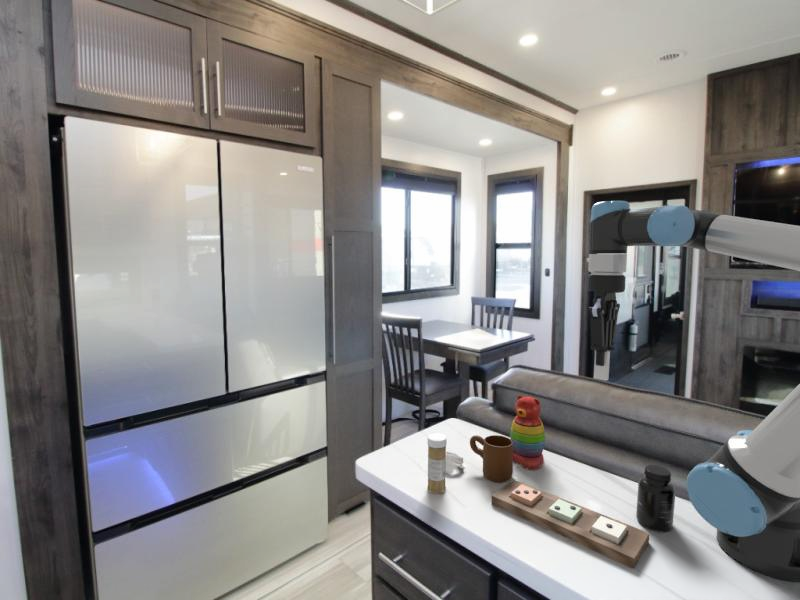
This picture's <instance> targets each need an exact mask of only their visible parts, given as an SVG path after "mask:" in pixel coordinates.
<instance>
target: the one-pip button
mask: <svg viewBox="0 0 800 600" xmlns="http://www.w3.org/2000/svg"><path fill="white" fill-rule="evenodd" d="M626 531H627V526H625V525H623V524H620V523H618V522H615V521H613V520H610V519H608V518H605V517H603V516H600V517H599V519H598V520H597V521H596V522H595V523H594V525H593V526H592V533H593V534H595V535H598V536H600V537H602V538H605V539H607V540H609V541H612V542H614V543H616V544H619V545H620V544H621V543H622V541H623V540H624V538H625V537H626Z"/></svg>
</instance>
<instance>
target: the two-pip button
mask: <svg viewBox="0 0 800 600" xmlns="http://www.w3.org/2000/svg"><path fill="white" fill-rule="evenodd" d="M549 515H551V516H554V517H556V518H558V519H560V520H563V521H565V522H567V523H570V524H572V525H573V524H574V523H575V522H576V521H577V520H578V519H579V518H580V516H581V508H580V507H578V506H575V505H573V504H570V503H568V502H565V501H563V500H560V499H558V500H557V501H556V502H555V503H554V504H553V505H552V506H551V507H550V508H549Z"/></svg>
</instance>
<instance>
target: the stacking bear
mask: <svg viewBox="0 0 800 600" xmlns="http://www.w3.org/2000/svg"><path fill="white" fill-rule="evenodd" d="M514 411H515V414H516V416H515V417H514V419H513V420H512V424H511V428H510V434H509V437H510V438H509V439H511V440H512V442H513V463H514V462H515V463H518V464H519V465H521V466H522V467H523V468H525V469H527V470H530V471H531V470H532V471H533V470H537V469H539V468H541V467H542V466H543V464H544V461H545V459H544V455H543V451H544V447H545V444H546V432H545V427H544V424H543V422H542V419H541V418H540V417H539V415H540V414H541V402H540V400H539V399H538V398H535V397H532V396H523V395H522V394H520V395H518V396H517V401H516V402H515V405H514Z"/></svg>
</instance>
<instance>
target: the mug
mask: <svg viewBox="0 0 800 600" xmlns="http://www.w3.org/2000/svg"><path fill="white" fill-rule="evenodd" d="M477 443H479V444H480V445H481V446H482V448H479V447H478V445H477ZM469 446H470V448H471V450H472V451H473V452H474V453H475V454H476V455H478V456H479V457H481V459H482V473H483V476H484V477H485V478H486V479H487V480H489V481H492V482H494V483H506V482H508V481H511V479H512V477H513V471H514V470H513V469H514V467H513V466H514V461H513V442H512V440H511V438H509V437H507V436H503V435H500V434H499V435H497V434H495V435H494V434H493V435H488V436H486V437H485V438H484V437H482V436H481V435H473V436H472V437H470V439H469Z"/></svg>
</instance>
